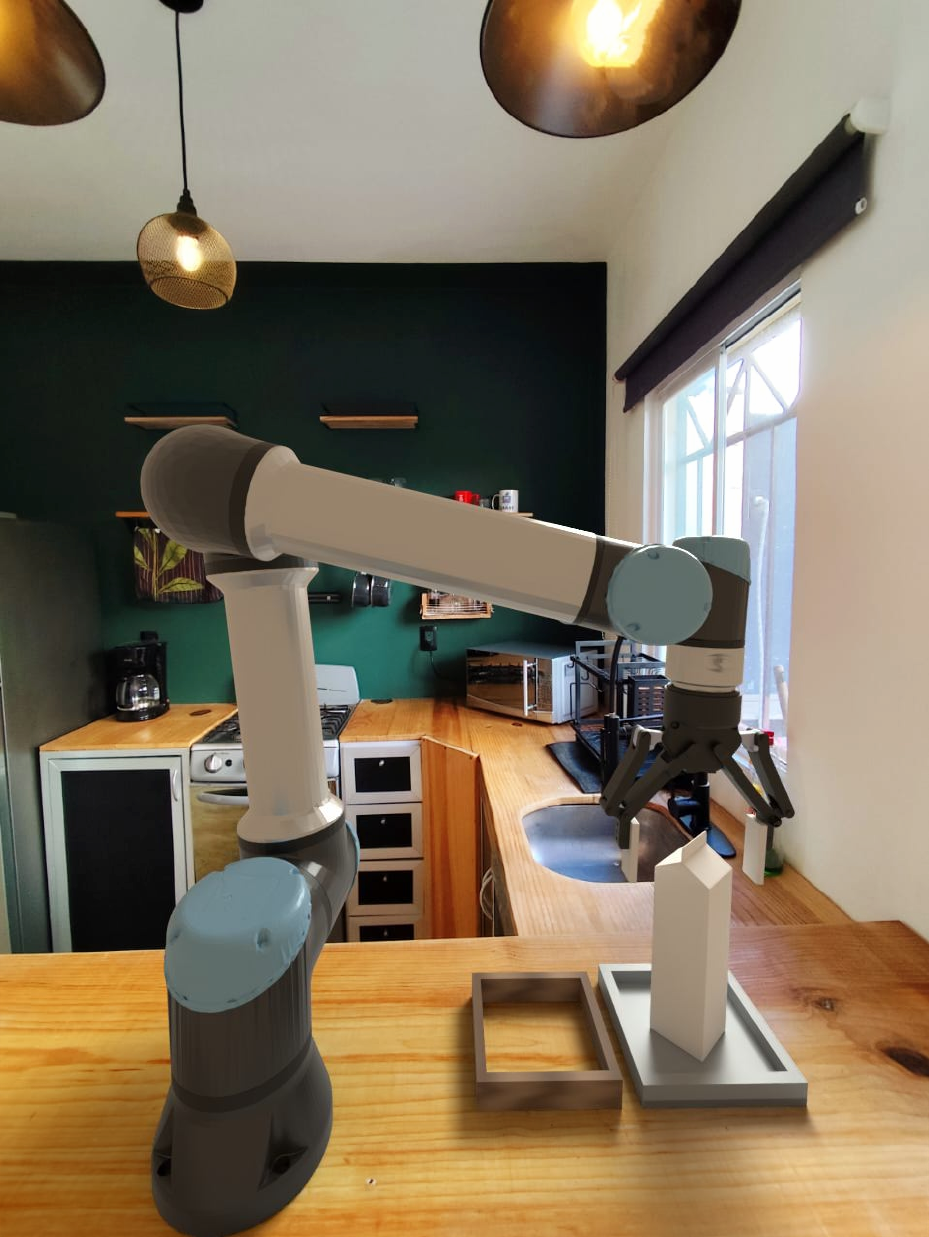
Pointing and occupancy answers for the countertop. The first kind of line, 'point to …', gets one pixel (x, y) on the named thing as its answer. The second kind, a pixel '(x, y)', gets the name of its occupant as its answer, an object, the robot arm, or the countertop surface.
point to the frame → (544, 1085)
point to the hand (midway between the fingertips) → (690, 877)
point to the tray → (672, 1078)
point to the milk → (691, 947)
